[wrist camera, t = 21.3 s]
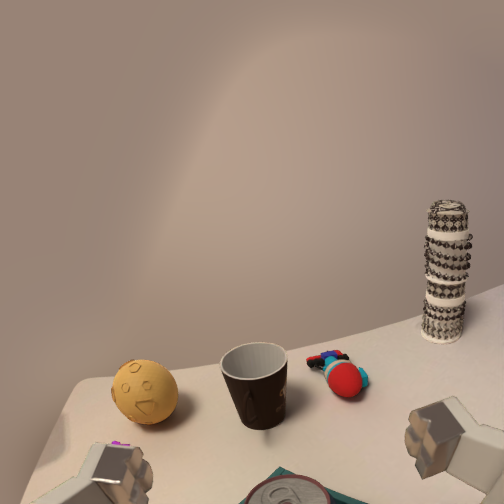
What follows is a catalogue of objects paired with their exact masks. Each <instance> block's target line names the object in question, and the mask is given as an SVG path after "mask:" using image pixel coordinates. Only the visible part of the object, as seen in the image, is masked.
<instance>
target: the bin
mask: <svg viewBox="0 0 504 504" xmlns="http://www.w3.org/2000/svg"><path fill="white" fill-rule="evenodd" d="M286 474H294V473H292V472H290V471H288V470H285V469H284V468H282V467H279V468H278V469H276V470H275V471H274V472H273V473H272V474H271V475H270V476H269V477H268V478H267V479H269V478H272V477H275V476H279V475H286ZM267 479H266V480H267ZM324 488H325V489H326V490H327V491H328V492H329V493H330V494H331V495H332V497H333V498H334V500H335V501H336V504H368V503H365V502H362V501H359V500H356V499H354V498H351V497H348V496H346V495H343V494H340V493H338V492H335V491H333V490H330V489H328V488H326V487H324ZM246 498H247V497H246ZM246 498H245V499H244V500H242V501H241V502H240V503H239V504H244V502H245V500H246Z"/></svg>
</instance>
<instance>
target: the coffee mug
mask: <svg viewBox="0 0 504 504" xmlns="http://www.w3.org/2000/svg"><path fill="white" fill-rule="evenodd" d="M220 368H221V371H222V374H223V376H224V379H225V381H226V384H227V387H228V389H229V392H230V394H231V397H232V399H233V402H234V404H235V407H236V409H237V411H238V414H239V416H240V419H241V421H242V423H243V424H244V425H245V426H247V427H248V428H251V429H255V430H265V429H270V428H273V427H275V426H277V425H278V424H279V423H280V422H281V421H282V420H283V419H284V416H285V404H286V383H287V353H286V351H285V350H284V349H283V348H282V347H280V346H278V345H276V344H272V343H266V342H254V343H248V344H244V345H240V346H238V347H235V348H233V349H231V350H230V351H228V352H227V353H226V354H225V355H224V356H223V357H222V358H221V360H220Z"/></svg>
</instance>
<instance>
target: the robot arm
mask: <svg viewBox="0 0 504 504" xmlns="http://www.w3.org/2000/svg"><path fill="white" fill-rule="evenodd" d="M408 420H409V422H410V423H411V424H410V425H409V427H408V428H407V429H406V432H405V445H406V448H407V451H408V453H409V455H410V456H412V457H414V458H416V459H417V460H416V463H415V466H416V468H417V470H418V472H419V474H420V476H421V478H422V480H423V479H425V478H428V477H431V476H433V475H436V474H438V473H441V472H443V471H446V472H447V473H449V474H451V475H452V476H454V477H456V478H458V479H459V480H461V481H463V482H465V483H467V484H468V485H470V486H472V487H474V488H476V489H477V490H479V491H481V492H483V493H485V494H487V495H486V496H485V498H484V499H483V500H482V502H481V503H480V504H504V431H503V430H500V429H497V428H494V427H491V426H488V425H485V424H482V425H479V424H478V423H477V422H476V420H475V419H474V418H473V417H472V415H471V414H470V413H469V412H468V411H467V409H466V408H465V407H464V406H463V405H462V403H461V402H460V401H459V400H458V399H457V397H455V396H451V397H449V398H446V399H443V400H441V401H438V402H435V403H432V404H430V405H427V406H424V407H421V408H418V409H416V410H413V411H411V413H410V415H409V419H408ZM142 457H143V452H142V451H141V449H140V447H134V446H124V445H115V444H106V443H98V442H95V443H94V444H93V445H92V446H91V448H90V450H89V452H88V454H87V456H86V458H85V460H84V462H83V464H82V466H81V468H80V471H79V473H78V475H77V477H71V478H70V479H68V480H67V481H65V482H63V483H62V484H60V485H59V486H57V487H55V488H54V489H52V490H51V491H49V492H47V493H46V494H44V495H42V496H41V497H39V498H37V499H36V500H34V501H32V502H31V503H29V504H148V500H149V498H148V497H147V495H146V492H148V491H149V490H150V489H151V488H152V484H153V472H152V469H151V466H150V464H149V463H148V462H147V461H145V460H144V459H142Z"/></svg>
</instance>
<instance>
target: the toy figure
mask: <svg viewBox="0 0 504 504" xmlns="http://www.w3.org/2000/svg"><path fill="white" fill-rule="evenodd" d="M338 355H339V356H338ZM342 355H343V356H342ZM306 360H307V365H308V366H309V367H310V368H312V367H314V366H315V367H317V368H319V369H321V370H323V371H325V379H326V381H327V383H328V385H329V387H330V388H331V389H332V390H333V391H334V392H335V393H336V394H338V395H340V396H343V397H352V396H355V395H357V394H358V393H359V392H360V390H361V388H362V387H366V386H367V384H368V375H367V374H366V373H365V371H364V370H363V368H360V367H359V370H358V369H357V368H356V366H355V365H353V364H352V363H351V362H349V361H348V360H349V357H348V356H347V354H342V353H341V352H340V351H339V350H333V351H327V352H323V353H321V355H318V356H313V357H309V358H307V359H306ZM324 365H325V366H324ZM319 366H324V367H323V368H321V367H319Z"/></svg>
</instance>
